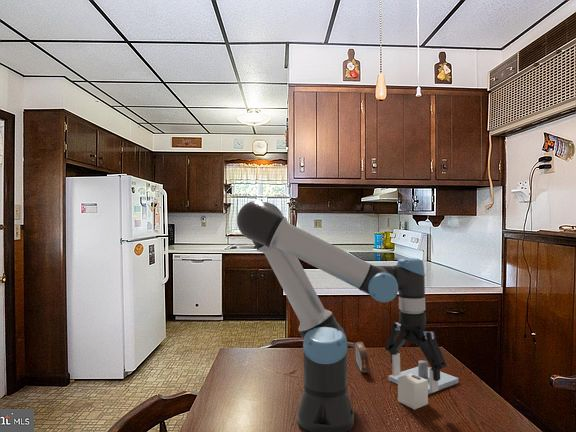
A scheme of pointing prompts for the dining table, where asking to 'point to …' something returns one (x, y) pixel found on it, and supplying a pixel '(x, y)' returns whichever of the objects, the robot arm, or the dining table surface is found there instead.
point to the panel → (426, 376)
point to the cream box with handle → (412, 391)
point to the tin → (362, 357)
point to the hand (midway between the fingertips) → (414, 383)
